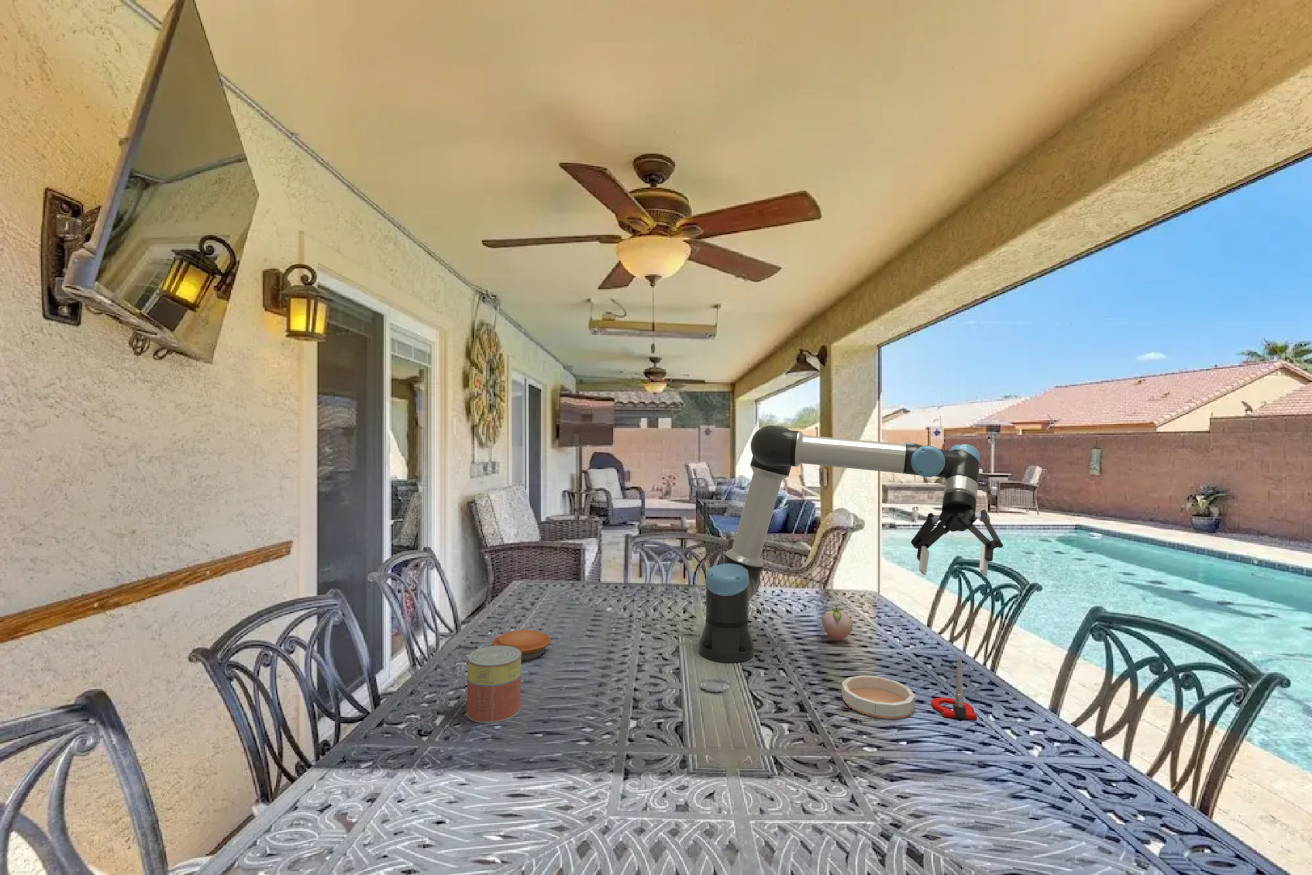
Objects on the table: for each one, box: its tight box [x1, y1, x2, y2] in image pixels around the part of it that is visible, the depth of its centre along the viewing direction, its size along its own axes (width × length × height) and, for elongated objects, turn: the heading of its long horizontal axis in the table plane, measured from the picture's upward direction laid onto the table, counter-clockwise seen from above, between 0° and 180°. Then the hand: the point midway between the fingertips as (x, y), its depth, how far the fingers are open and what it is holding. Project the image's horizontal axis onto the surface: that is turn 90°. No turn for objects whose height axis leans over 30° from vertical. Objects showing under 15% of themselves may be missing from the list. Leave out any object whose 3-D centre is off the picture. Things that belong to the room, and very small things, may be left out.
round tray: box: [841, 674, 916, 720], centre depth 130 cm, size 15×15×3 cm
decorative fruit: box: [821, 606, 853, 642], centre depth 170 cm, size 9×8×10 cm
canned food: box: [465, 645, 522, 724], centre depth 124 cm, size 11×11×12 cm
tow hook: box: [930, 656, 978, 721], centre depth 128 cm, size 8×13×9 cm
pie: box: [491, 629, 552, 662], centre depth 157 cm, size 15×16×5 cm
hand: (951, 572), depth 135 cm, fingers open, 13 cm apart
